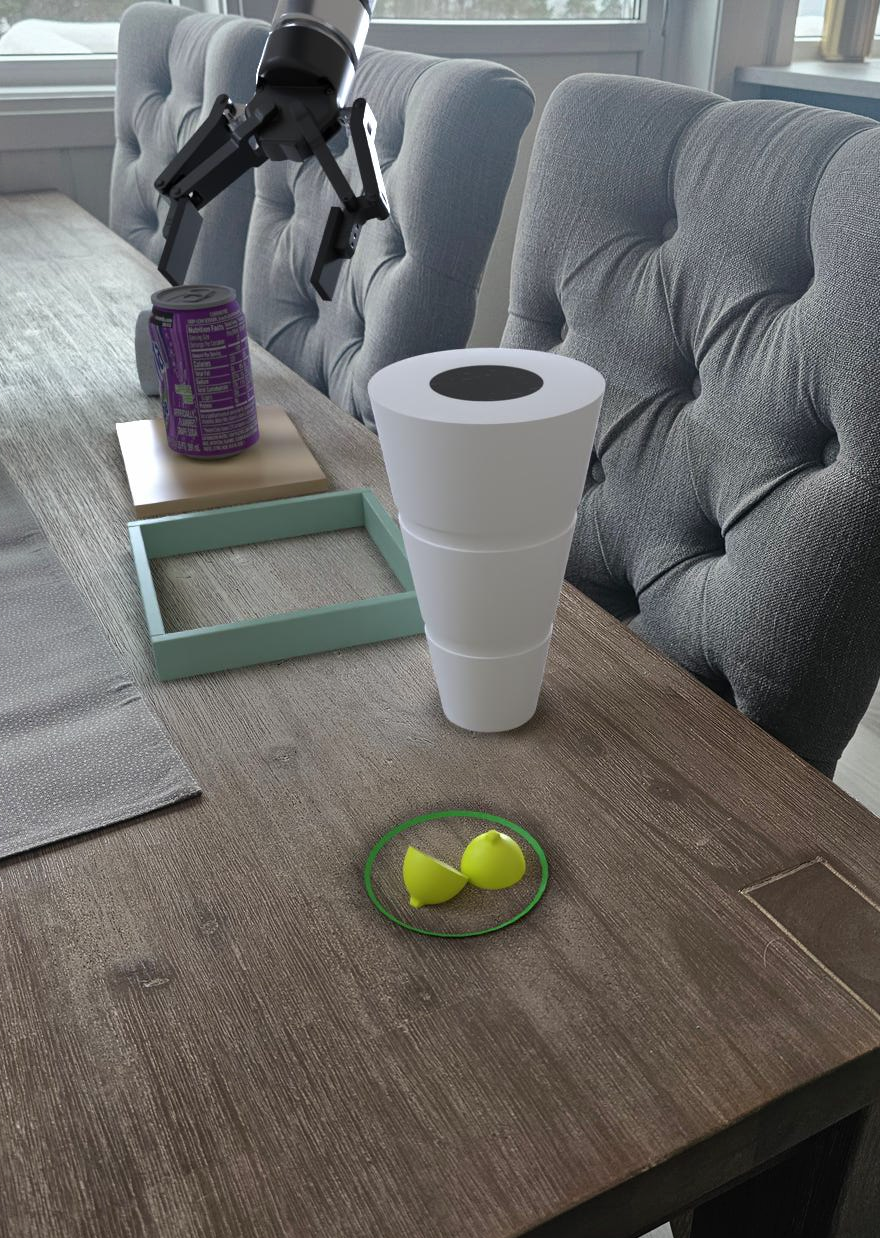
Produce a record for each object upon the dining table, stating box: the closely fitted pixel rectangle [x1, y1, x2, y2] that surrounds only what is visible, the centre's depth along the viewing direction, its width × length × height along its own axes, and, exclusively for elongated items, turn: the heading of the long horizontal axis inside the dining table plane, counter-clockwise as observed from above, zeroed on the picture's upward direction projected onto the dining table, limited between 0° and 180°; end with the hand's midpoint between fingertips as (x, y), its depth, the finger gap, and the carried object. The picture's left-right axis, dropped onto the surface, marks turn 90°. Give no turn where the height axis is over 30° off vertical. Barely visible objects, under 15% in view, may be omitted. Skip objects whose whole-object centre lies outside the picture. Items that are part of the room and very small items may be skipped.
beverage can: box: [148, 283, 260, 460], centre depth 86 cm, size 7×7×12 cm
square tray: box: [126, 486, 426, 683], centre depth 70 cm, size 17×17×3 cm
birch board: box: [114, 403, 329, 520], centre depth 89 cm, size 18×14×2 cm
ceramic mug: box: [134, 308, 160, 397], centre depth 104 cm, size 11×8×8 cm
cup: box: [367, 347, 606, 733], centre depth 55 cm, size 11×11×18 cm
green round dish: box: [363, 810, 549, 937], centre depth 48 cm, size 8×8×3 cm
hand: (243, 285), depth 89 cm, fingers open, 13 cm apart
